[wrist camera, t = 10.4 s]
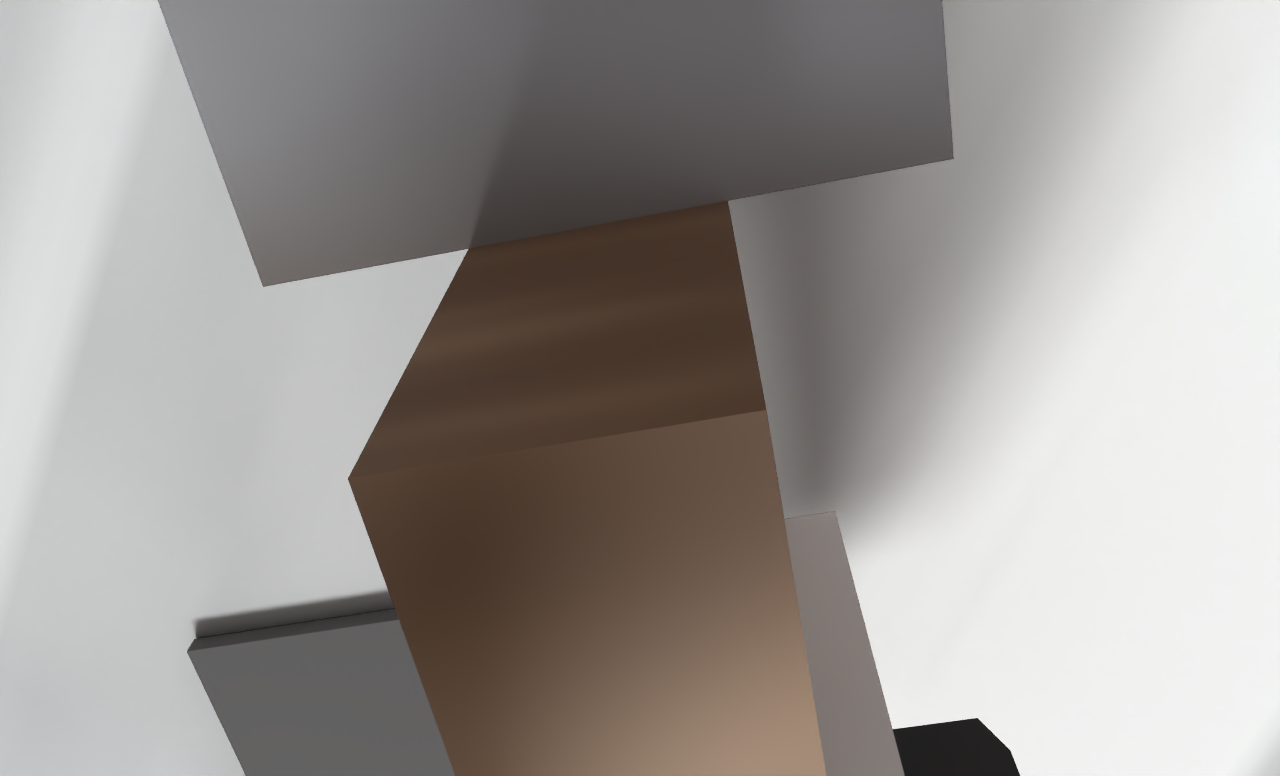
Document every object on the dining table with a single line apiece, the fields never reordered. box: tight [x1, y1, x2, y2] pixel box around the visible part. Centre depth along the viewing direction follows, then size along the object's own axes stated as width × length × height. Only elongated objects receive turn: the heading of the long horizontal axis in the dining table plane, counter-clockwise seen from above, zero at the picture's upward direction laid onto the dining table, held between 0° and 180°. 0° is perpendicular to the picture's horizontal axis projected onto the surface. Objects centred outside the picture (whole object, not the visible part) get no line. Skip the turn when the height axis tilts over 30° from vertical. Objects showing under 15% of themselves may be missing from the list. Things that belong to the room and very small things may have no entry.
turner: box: [158, 0, 954, 776], centre depth 11 cm, size 24×8×6 cm, turn 11°
